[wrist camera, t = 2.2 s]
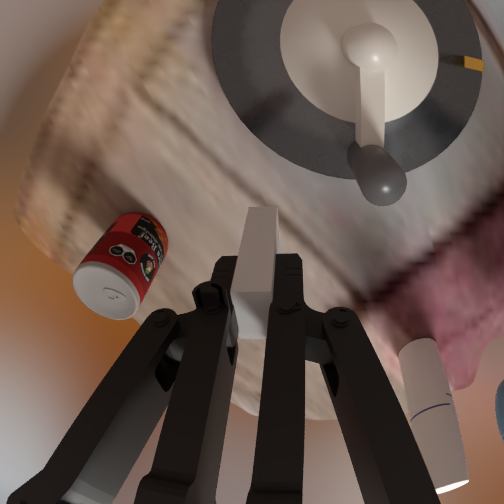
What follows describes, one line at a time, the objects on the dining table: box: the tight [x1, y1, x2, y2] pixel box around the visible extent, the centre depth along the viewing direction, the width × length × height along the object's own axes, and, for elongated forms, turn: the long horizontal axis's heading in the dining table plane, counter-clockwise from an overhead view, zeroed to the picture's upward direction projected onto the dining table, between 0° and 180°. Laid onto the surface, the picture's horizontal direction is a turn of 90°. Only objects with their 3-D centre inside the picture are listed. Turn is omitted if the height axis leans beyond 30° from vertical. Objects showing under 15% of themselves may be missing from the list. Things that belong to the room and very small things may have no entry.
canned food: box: [72, 212, 168, 320], centre depth 35 cm, size 8×8×11 cm
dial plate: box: [212, 0, 484, 181], centre depth 23 cm, size 26×26×2 cm
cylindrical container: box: [398, 338, 469, 494], centre depth 37 cm, size 7×7×25 cm
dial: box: [280, 0, 438, 206], centre depth 20 cm, size 19×14×8 cm
